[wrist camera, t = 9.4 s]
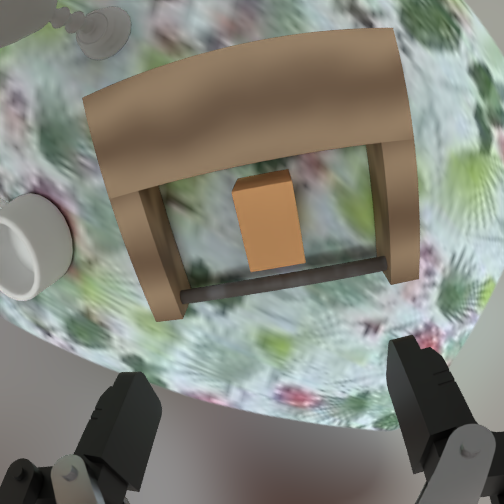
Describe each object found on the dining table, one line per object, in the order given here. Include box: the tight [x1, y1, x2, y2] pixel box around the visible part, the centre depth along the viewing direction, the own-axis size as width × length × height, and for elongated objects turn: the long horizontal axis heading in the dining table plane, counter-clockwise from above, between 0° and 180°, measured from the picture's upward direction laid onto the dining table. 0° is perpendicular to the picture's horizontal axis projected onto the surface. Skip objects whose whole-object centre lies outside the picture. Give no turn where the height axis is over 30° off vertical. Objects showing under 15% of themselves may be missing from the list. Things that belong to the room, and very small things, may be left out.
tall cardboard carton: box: [232, 169, 306, 272], centre depth 24 cm, size 6×4×4 cm, turn 12°
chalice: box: [0, 0, 131, 60], centre depth 12 cm, size 7×7×18 cm
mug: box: [0, 193, 73, 301], centre depth 25 cm, size 12×10×6 cm
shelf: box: [82, 28, 420, 322], centre depth 23 cm, size 19×22×4 cm
